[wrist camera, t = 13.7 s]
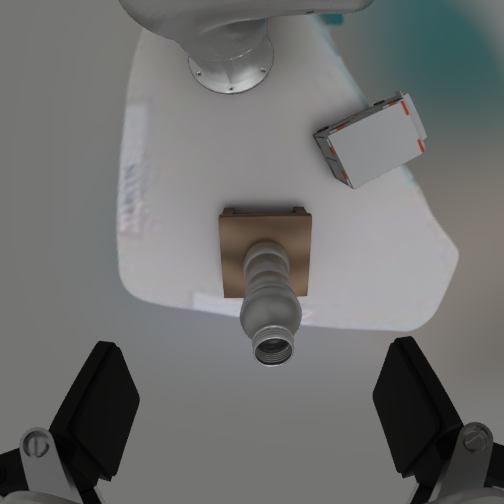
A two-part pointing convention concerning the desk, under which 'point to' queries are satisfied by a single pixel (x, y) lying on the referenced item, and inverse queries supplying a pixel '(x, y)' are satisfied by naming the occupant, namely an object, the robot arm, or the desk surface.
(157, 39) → the desk surface
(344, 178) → the toy vehicle
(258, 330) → the plastic bottle
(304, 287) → the walnut stand
